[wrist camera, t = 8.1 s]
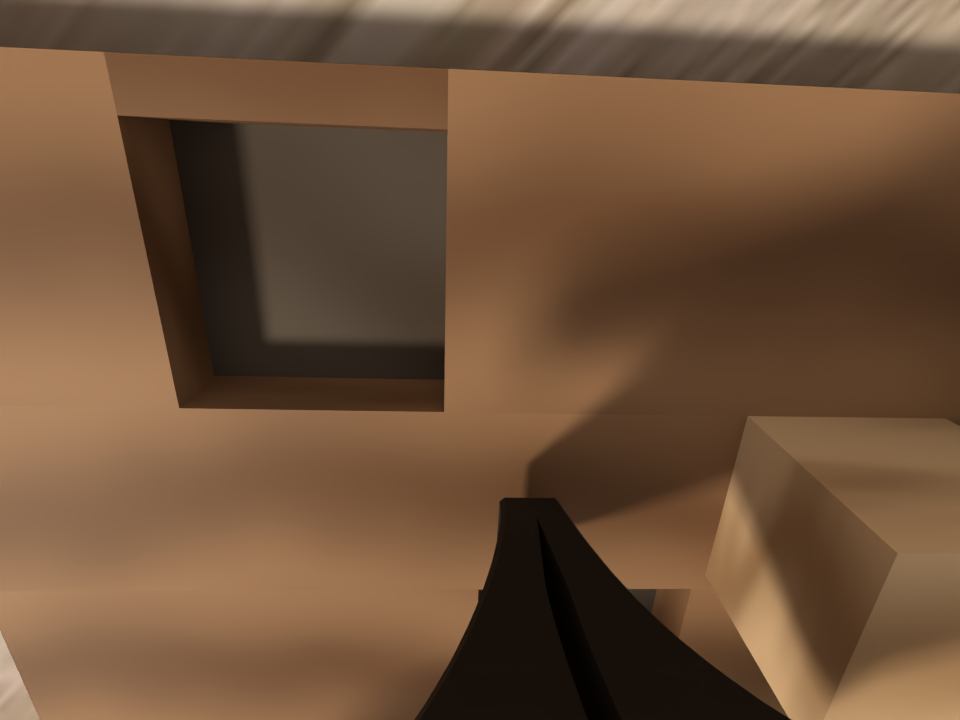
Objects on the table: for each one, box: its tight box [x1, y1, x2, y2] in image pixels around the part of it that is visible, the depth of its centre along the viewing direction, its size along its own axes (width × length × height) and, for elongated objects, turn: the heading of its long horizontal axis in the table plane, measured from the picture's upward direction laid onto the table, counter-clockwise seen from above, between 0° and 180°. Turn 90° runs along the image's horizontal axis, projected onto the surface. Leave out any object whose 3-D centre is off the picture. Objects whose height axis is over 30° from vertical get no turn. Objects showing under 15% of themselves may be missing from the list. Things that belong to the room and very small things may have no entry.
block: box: [705, 416, 960, 720], centre depth 11 cm, size 5×5×4 cm
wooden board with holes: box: [0, 47, 960, 720], centre depth 13 cm, size 20×26×4 cm
